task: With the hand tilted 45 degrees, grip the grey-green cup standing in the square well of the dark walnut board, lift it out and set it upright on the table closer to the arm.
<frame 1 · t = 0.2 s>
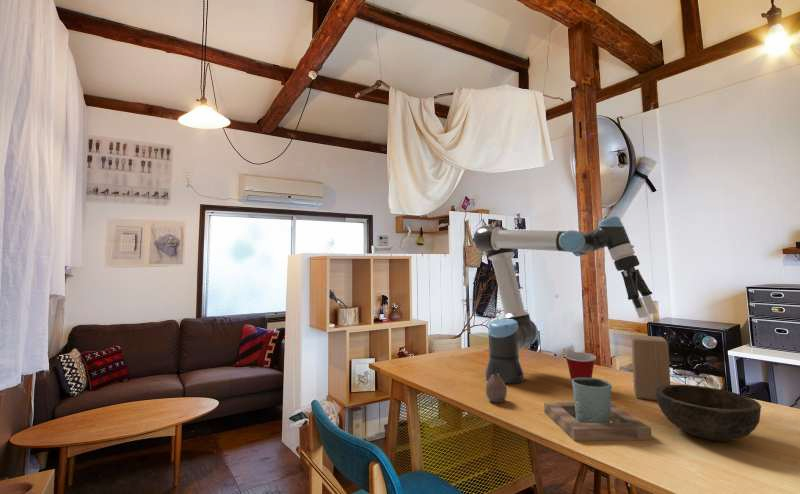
hand: (648, 315, 133), 28 cm above the table, tool tilted 20°, fingers open, 13 cm apart
well board: (593, 424, 109), on the table
plastic cup: (581, 388, 143), on the table
grey-green cup: (593, 425, 109), resting in well board
wooden block: (651, 397, 132), on the table
vase: (496, 401, 130), on the table
bowl: (707, 436, 101), on the table
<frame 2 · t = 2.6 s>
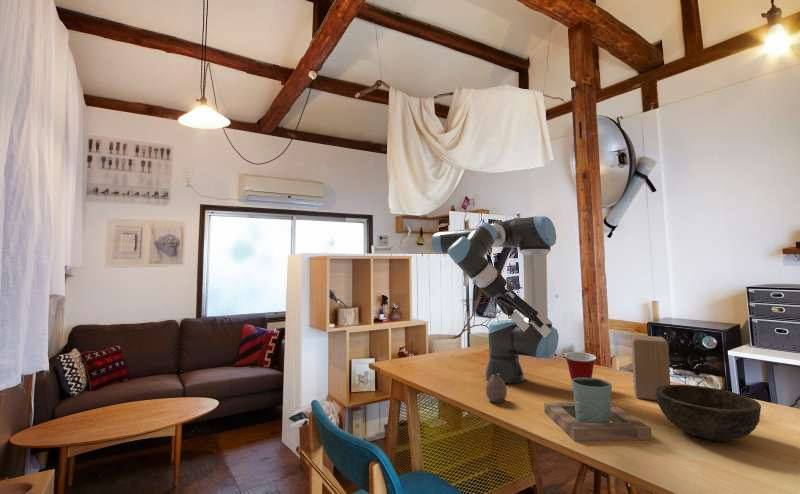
hand: (536, 331, 117), 25 cm above the table, tool tilted 45°, fingers open, 13 cm apart
nothing on the table moved.
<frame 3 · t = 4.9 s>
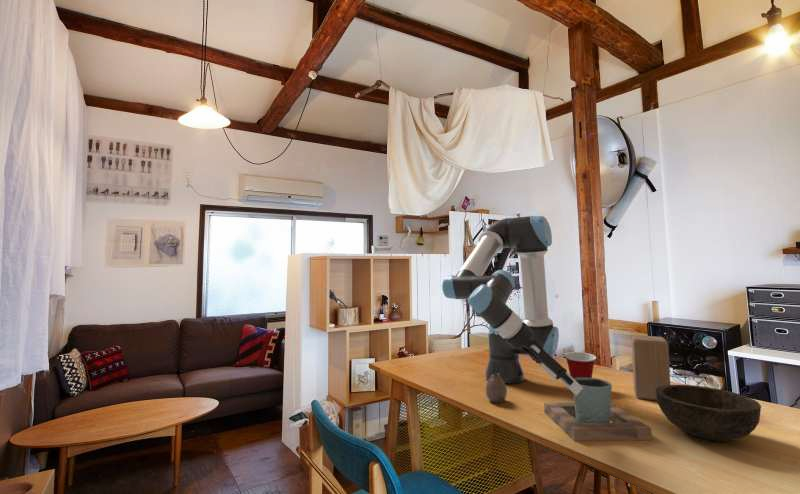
hand: (568, 384, 109), 12 cm above the table, tool tilted 45°, fingers open, 13 cm apart
nothing on the table moved.
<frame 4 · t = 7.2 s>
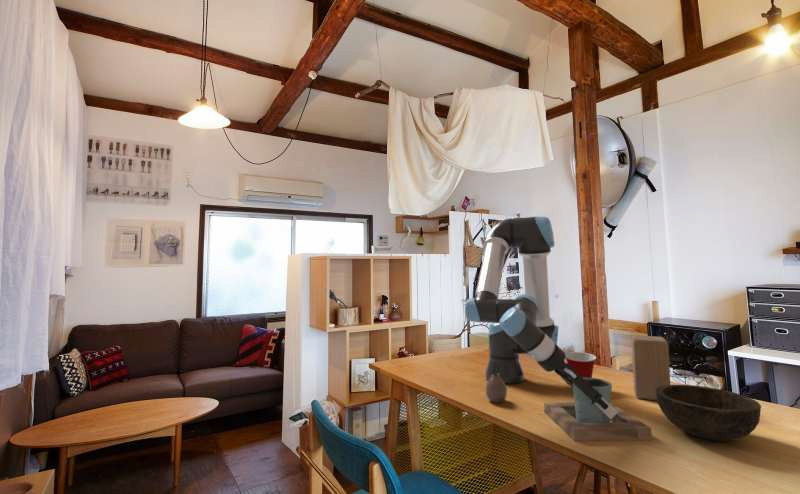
hand: (603, 408, 109), 4 cm above the table, tool tilted 45°, fingers closed on grey-green cup, 10 cm apart
grey-green cup: (593, 425, 109), resting in well board, touching gripper
everything else where it was.
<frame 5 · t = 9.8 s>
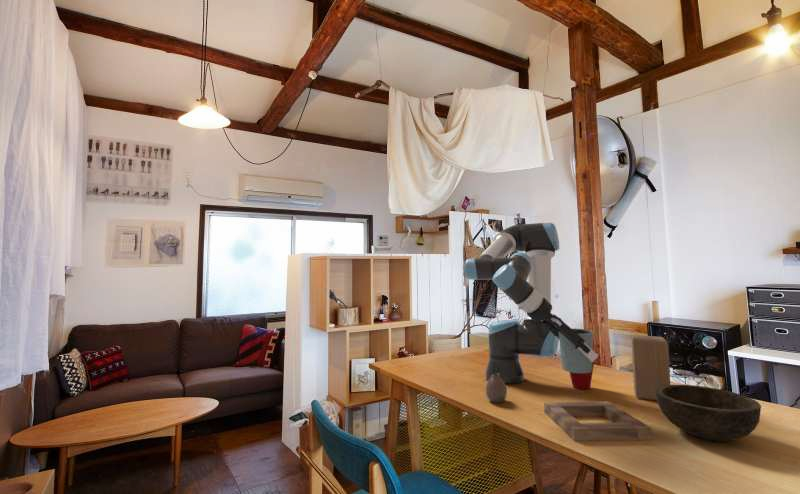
hand: (586, 354, 121), 17 cm above the table, tool tilted 45°, fingers closed on grey-green cup, 10 cm apart
grey-green cup: (577, 369, 120), point 13 cm above the table, touching gripper
everything else where it was.
when the fingers open (6 cm above the table, at t = 12.8 s): grey-green cup drops 1 cm, on the table.
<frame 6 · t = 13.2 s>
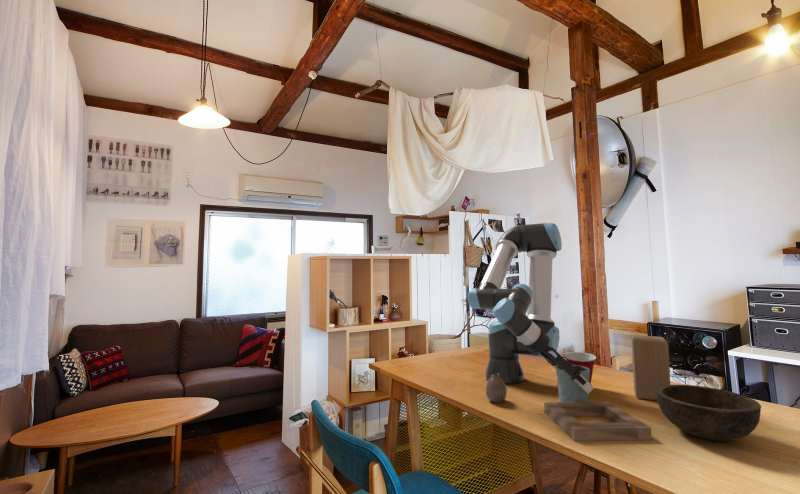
hand: (580, 384, 125), 7 cm above the table, tool tilted 45°, fingers open, 13 cm apart
grey-green cup: (573, 405, 125), on the table
everything else where it was.
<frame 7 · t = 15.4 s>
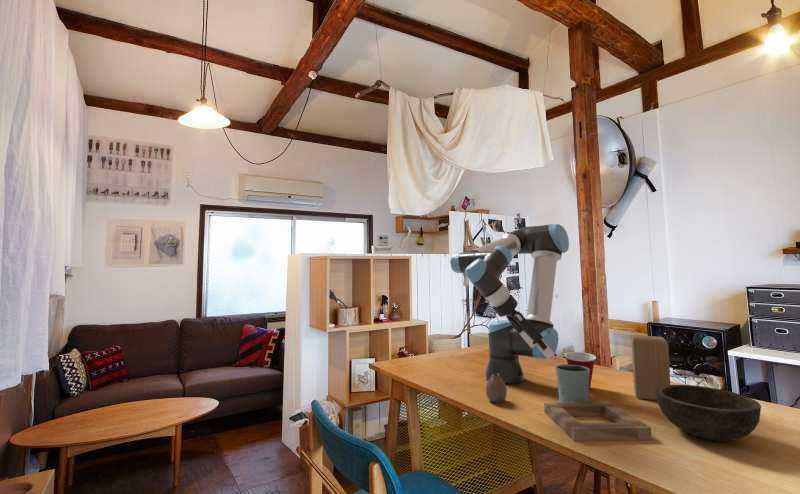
hand: (542, 350, 126), 17 cm above the table, tool tilted 40°, fingers open, 13 cm apart
nothing on the table moved.
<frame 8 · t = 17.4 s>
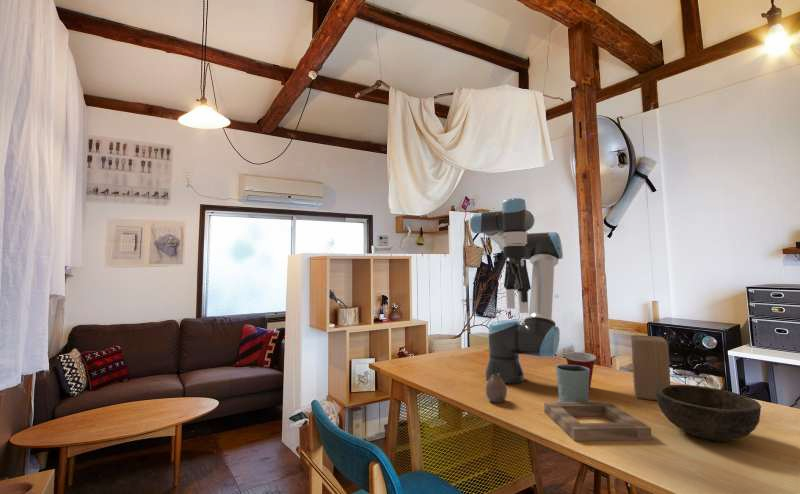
hand: (516, 310, 126), 31 cm above the table, tool pointing down, fingers open, 13 cm apart
nothing on the table moved.
at the end: grey-green cup inside the target area (0.1 cm from its centre), on the table; grey-green cup tilted 0°; the gripper is holding nothing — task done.
